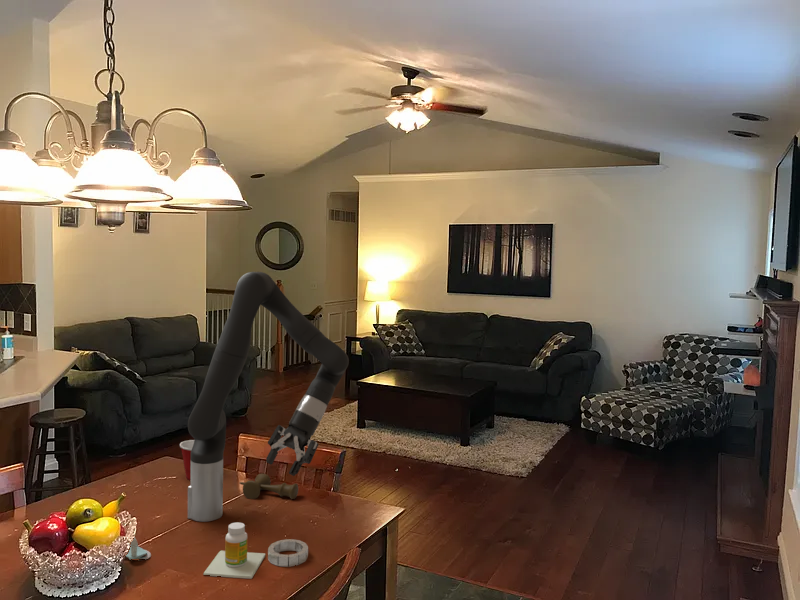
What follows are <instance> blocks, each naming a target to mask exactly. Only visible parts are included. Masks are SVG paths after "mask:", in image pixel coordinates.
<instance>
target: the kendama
mask: <svg viewBox="0 0 800 600" xmlns="http://www.w3.org/2000/svg"><path fill="white" fill-rule="evenodd" d="M271 483H272V481H271V478H270V476H269V475H268V474H266V473H259V474H257V475H256V476H255V479H254V480H247V481H245V482H244V481H240V482H239V484H240V485H242V494H243V496H244V497H245V498H246V499H249V500H255V499H258V498H259V496H260V494H261V491H270V492H273V493H275V494H277V495H279V496H280V497H288V498H290V499H291V500H292V499H294V500H295V499H296V498H297V496H298V494H299V485H298V483H293V484H287V483H286V482H283V483H281V484H271Z"/></svg>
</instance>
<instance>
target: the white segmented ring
mask: <svg viewBox="0 0 800 600" xmlns="http://www.w3.org/2000/svg"><path fill="white" fill-rule="evenodd" d="M286 551H290V552H291V551H292V552H296V553H291V554H282V553H281V552H286ZM308 556H309V546H308V544H307V543H306V542H304V541H303V540H300V539H293V538H291V539H289V538H288V539H287V538H286V539H281V540H277V541H275V542H273V543H271V544H270V545H269V547H268V548H267V560H268V562H269V563H270V564H272V565H274V566H277V567H286V568H290V567H294V566H295V565H296V566H299V565H301V564H304V563H305V562H306V561H307V560H308Z"/></svg>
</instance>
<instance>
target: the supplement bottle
mask: <svg viewBox="0 0 800 600" xmlns="http://www.w3.org/2000/svg"><path fill="white" fill-rule="evenodd" d="M245 527H246V525H245V523H243V522H231V523H230V524H228V528H227V529H228V530H227V531H228V532H227V534H225V542H224V543H225V544H224V545H225V547H224V548H225V550H224V551H225V564H226V565H227V566H229V567H240V566H243V565H244V564H246V562H247V552H248V533H247V532H246V529H245Z"/></svg>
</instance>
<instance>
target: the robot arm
mask: <svg viewBox="0 0 800 600" xmlns="http://www.w3.org/2000/svg"><path fill="white" fill-rule="evenodd" d="M261 306H262V307H263V308H265V310H268V311H269V312H270V313H271V314H272V315H273V316H274V317H276V319H277V320H278V321H279V323H280V324H281V325H282V327H283V328H284V330H285V331H286V333H287V334H288V335H289V337H290V338H291V339H292V340H293V341H294V342H295V343H296V344H297V345H298V346H300V347H301V348H302V350H304V352H306V353H307V354H309V355H310V356H312V357H314V358H315V359H316V360H318V362H319V363H321V365H320V367H319V368H318V370H317V373H316V376H315V377H314V379H312V381H311V382H310V385H309V386H308V387H307V389H306V392H305V394H304V395H303V397H302V398H301V400H300V401H299V402H298V405H297V407H296V409H294V412H293V414H292V416H291V419H290V420H289V422H288V426H287V427H286V428H285V427H284V426H282V425H280V424H278V425H277V426H276V427H275V429H274V431H273V433H272V435H271V436H270V438H269V439H268V440H267V444H268V445H269V446H270V451H269V452H268V454H267V456H266V459H265V461H266V463H268V464H269V465H273V463H274V462H275V460H276V457H277V456H278V454H279V452H280V451H281V450H283V449H285V448H288V449H292V450H293V451H294V452H295V455H296V460H294V462H293V464H292V465H291V468H290V469H289V470H288V474H289V475H291V476H293V477H295V476H296V475H298V474H299V472H300V469H301V467H302V466H303V465H304V464H308V465H310V464H311V462H312V460H313V458H314V456H315V454H316V451H317V450H318V448H319V443H318V442H317V441H315V440H314V439H312V440H311V438H312V436H314V435H315V432H316V431H317V429H318V426H319V425H320V423H321V421H322V419H323V417H324V414H325V412H326V411H327V407H328V405H329V404H330V402H331V400H332V397H333V395H334V393H335V390H336V388H337V385H338V384H339V382H340V381H341V379H342V377H343V375H344V374H345V372H346V370H347V368H348V367H349V363H350V362H349V361H350V359H349V355H348V354H347V353H346V352H345V351H344V349H342V347H340V346H338V344H336V343H335V342H333V341H332V340H331V339H329V338H328V337H326V335H325V334H324V333H323V332H322V331H321V330H320V329H319V328H317V327H316V326H315V325H314V323H312V322H311V321H310V320H309V319H308V318H307V317H306V316H305V315H304V314H303V313H302V312H301V311H300V310H299V309H298V308H296V306H294V304H293V303H292V302H291V301H290V300H289V299H288V298H287V296H286V295H285V294H284V292H282V290H281V288H280V287H279V286H278V285H277V283H276V282H275V281H274V280H273V278H272V277H271V276H270V275H269V274H268V273H266V272H263V271H248V272H246V273H244V274H243V275H241V276H240V278H239V279H238V281H237V283H236V286H235V289H234V294H233V299H232V303H231V307H230V311H229V313H228V316H227V319H226V321H225V323H224V325H223V329H222V331H221V334H220V337H219V338H218V341H217V343H216V346H215V349H214V352H213V354H212V358H211V361H210V364H209V366H208V370H207V373H206V376H205V379H204V383H203V387H202V389H201V391H200V394H199V397H198V398H197V400H196V403H195V404H194V407H193V409H192V411H191V413H190V415H189V417H188V420H187V430H188V433H189V435H190V436H191V437H192V438H193V440H194V444H193V447H192V450H191V480H190V484H189V485H188V486H187V519H188V520H189V519H191V520H193V521H195V522H204V523H206V522H211V521H215V520H218V519H221V518H222V516H223V509H224V506H223V502H224V501H223V500H224V494H223V493H224V492H223V491H224V451H225V449H226V437H227V435H226V434H227V417H226V413H225V410H224V405H225V403H226V400H227V398H228V396H229V394H230V393H231V392H232V390H233V389H232V388H233V387H234V386H235V384H236V382H237V381H238V379H239V377H240V375H241V373H242V371H243V369H244V366H245V364H246V362H247V360H248V359H247V358H248V355H249V354H250V353H249V352H250V348H251V344H252V343H251V341H252V329H253V324H254V321H255V318H256V315H257V313H258V311H259V308H260V307H261ZM282 436H283V437H282ZM306 446H307V449H306V448H305V447H306Z"/></svg>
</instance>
